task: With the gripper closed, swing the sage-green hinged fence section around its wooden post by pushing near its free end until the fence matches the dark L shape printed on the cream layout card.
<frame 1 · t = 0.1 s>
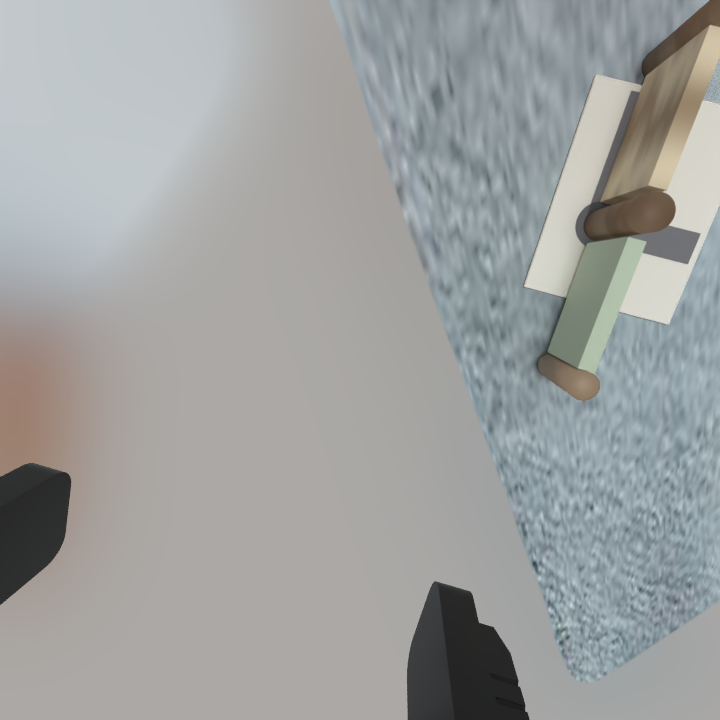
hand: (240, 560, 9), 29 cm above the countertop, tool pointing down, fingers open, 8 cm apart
fence gate: (587, 317, 31), point 4 cm above the countertop, hinge at 0.0°
layout card: (632, 205, 33), on the countertop
fence fixed: (597, 225, 34), resting on layout card
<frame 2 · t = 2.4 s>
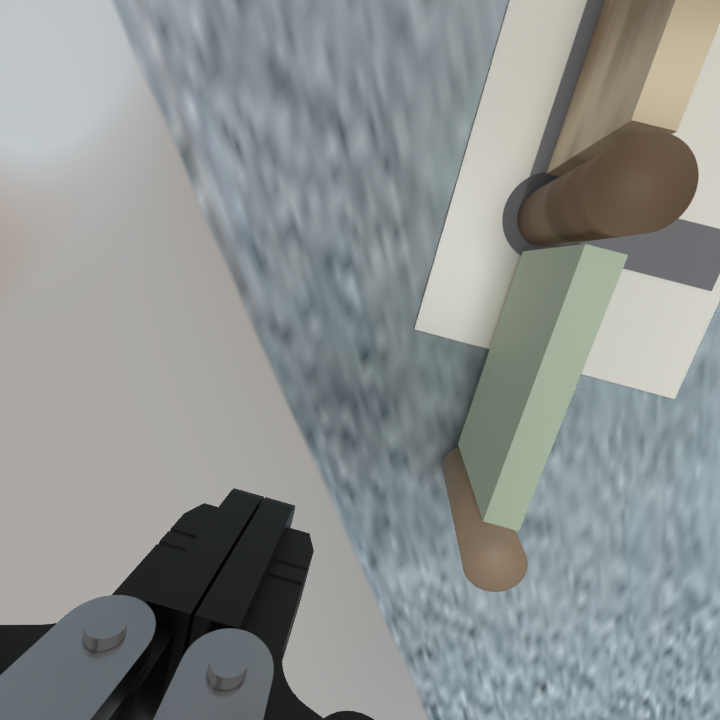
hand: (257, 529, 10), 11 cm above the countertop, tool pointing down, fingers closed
fence gate: (514, 401, 16), point 4 cm above the countertop, hinge at 0.0°
layout card: (607, 181, 18), on the countertop
fence fixed: (543, 218, 18), resting on layout card
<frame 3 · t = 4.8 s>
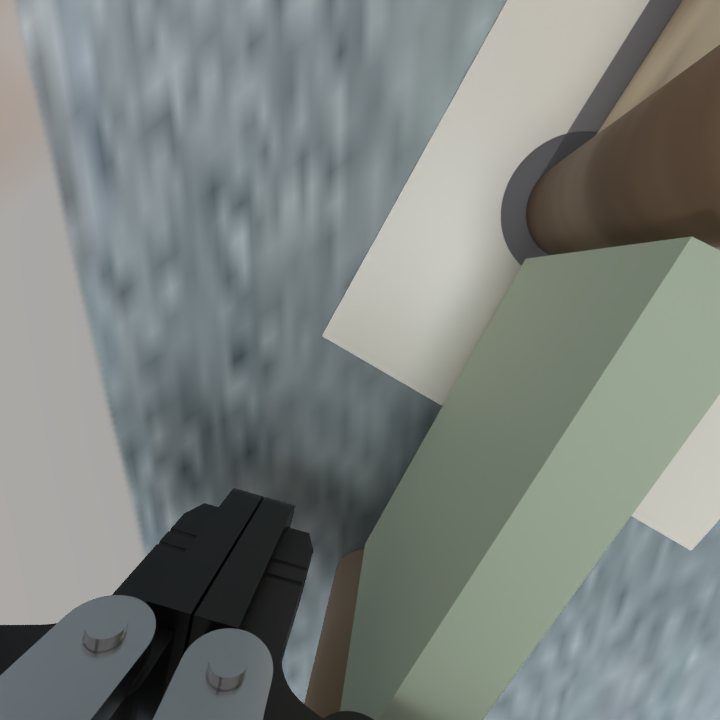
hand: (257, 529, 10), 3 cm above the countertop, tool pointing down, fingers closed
fence gate: (454, 526, 8), point 4 cm above the countertop, hinge at 3.7°, touching gripper, hand
layout card: (690, 178, 10), on the countertop
fence fixed: (570, 212, 11), resting on layout card
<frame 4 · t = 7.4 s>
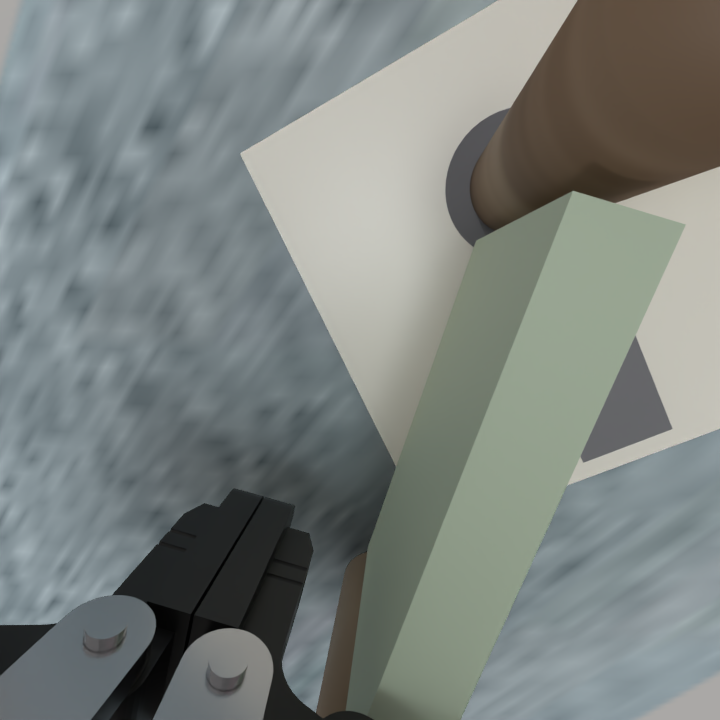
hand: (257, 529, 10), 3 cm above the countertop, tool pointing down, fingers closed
fence gate: (435, 513, 8), point 4 cm above the countertop, hinge at 46.8°, touching gripper, hand
layout card: (621, 224, 11), on the countertop
fence fixed: (515, 188, 11), resting on layout card
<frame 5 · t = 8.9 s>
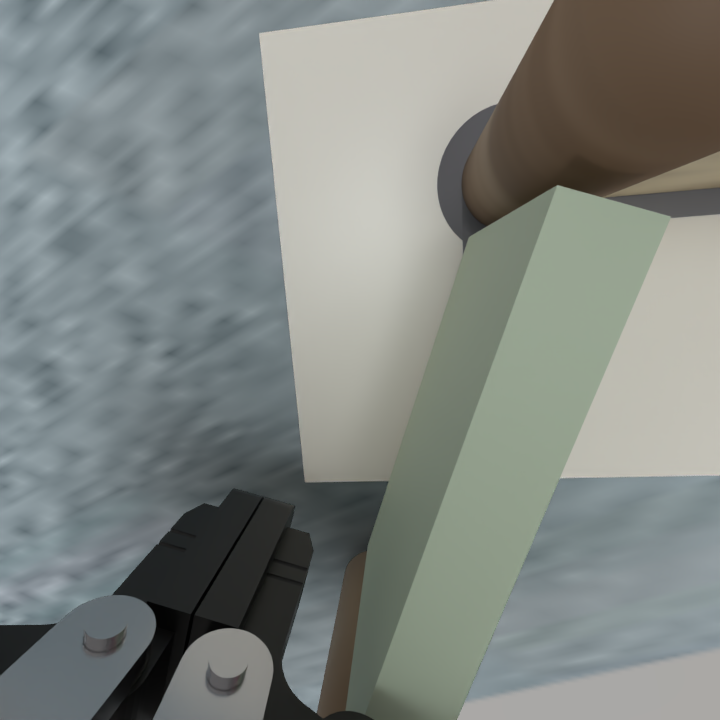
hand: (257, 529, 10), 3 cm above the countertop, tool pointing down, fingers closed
fence gate: (432, 511, 8), point 4 cm above the countertop, hinge at 70.1°, touching gripper, hand
layout card: (587, 257, 11), on the countertop
fence fixed: (507, 183, 11), resting on layout card
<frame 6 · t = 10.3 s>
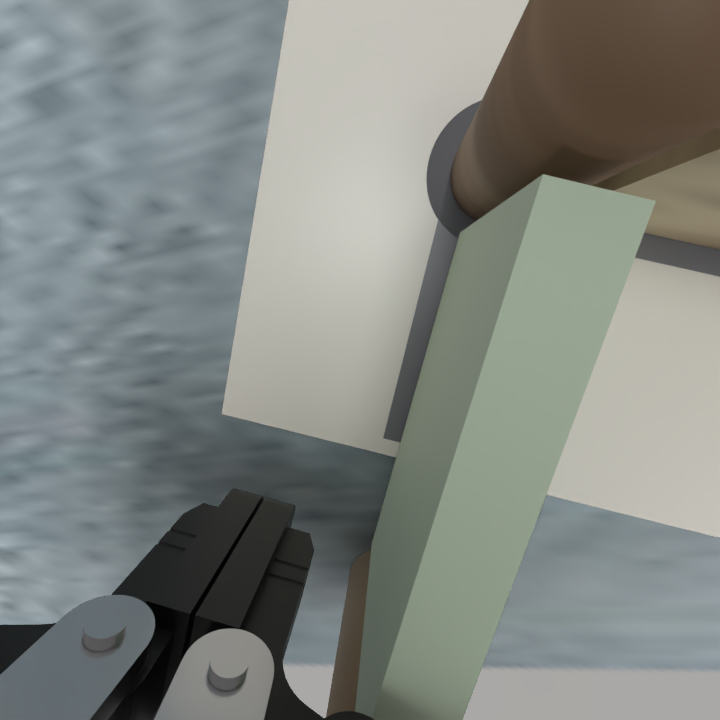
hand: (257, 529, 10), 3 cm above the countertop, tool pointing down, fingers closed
fence gate: (434, 505, 8), point 4 cm above the countertop, hinge at 88.9°
layout card: (548, 272, 11), on the countertop
fence fixed: (496, 178, 11), resting on layout card
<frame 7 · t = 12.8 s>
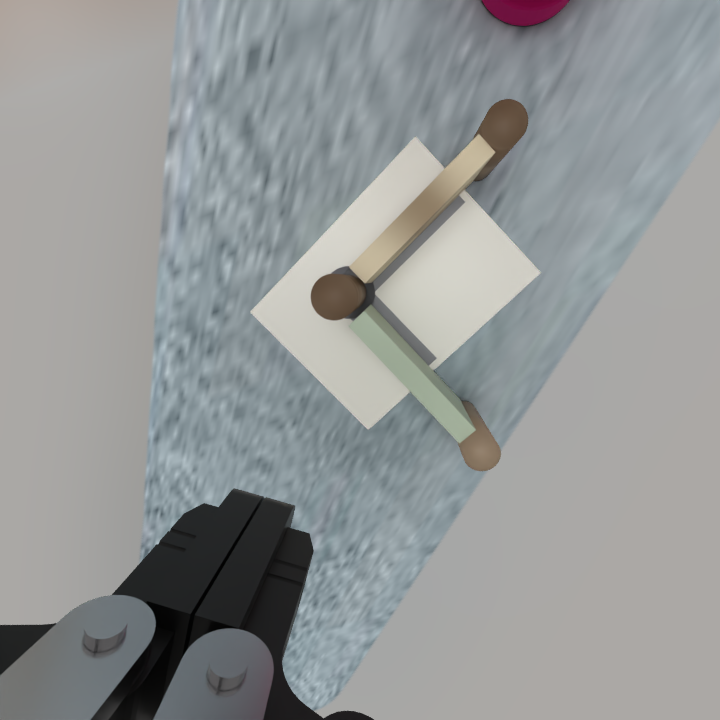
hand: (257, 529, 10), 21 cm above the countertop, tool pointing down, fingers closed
fence gate: (422, 379, 26), point 4 cm above the countertop, hinge at 88.9°
layout card: (390, 292, 29), on the countertop
fence fixed: (349, 292, 30), resting on layout card
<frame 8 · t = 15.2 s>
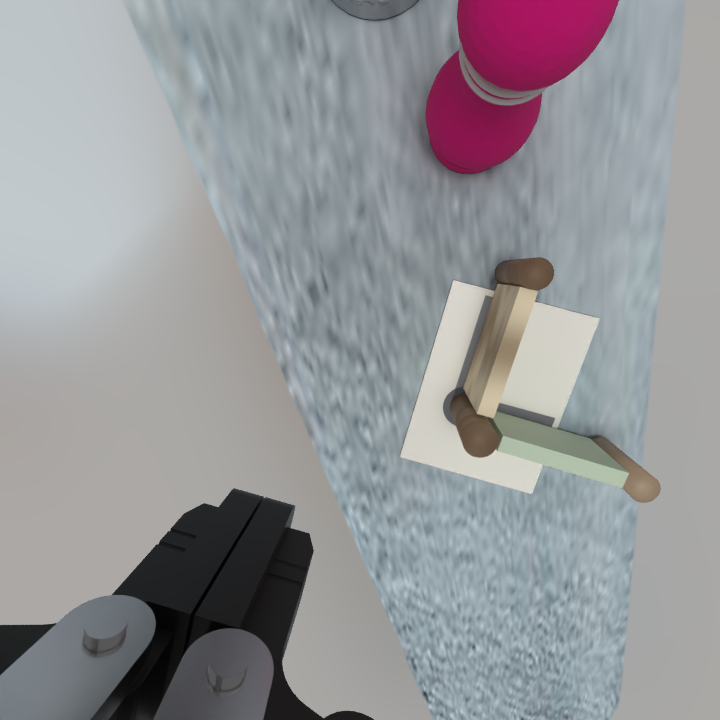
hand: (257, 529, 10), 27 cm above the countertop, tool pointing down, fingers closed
fence gate: (561, 449, 32), point 4 cm above the countertop, hinge at 88.9°
layout card: (493, 390, 36), on the countertop
pepper mill: (470, 131, 32), on the countertop
fence fixed: (463, 406, 37), resting on layout card
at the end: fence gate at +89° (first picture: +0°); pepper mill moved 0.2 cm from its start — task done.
